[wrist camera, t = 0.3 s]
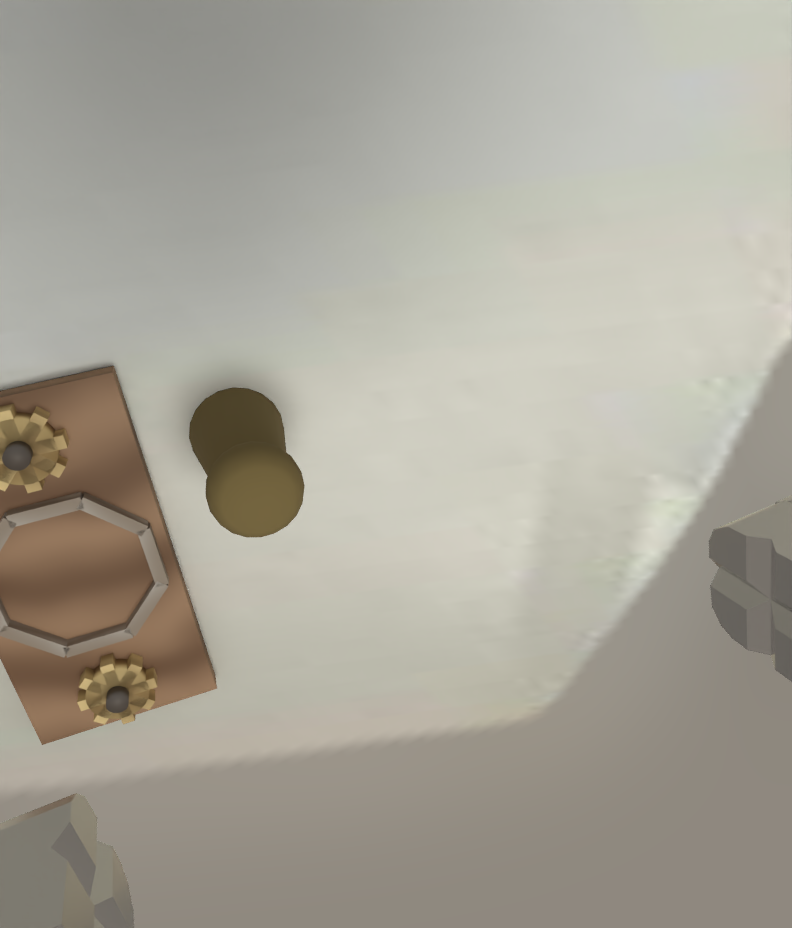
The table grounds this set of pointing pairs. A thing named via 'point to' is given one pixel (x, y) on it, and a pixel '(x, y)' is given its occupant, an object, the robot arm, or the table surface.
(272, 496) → the cork
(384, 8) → the table surface
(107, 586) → the gear board
